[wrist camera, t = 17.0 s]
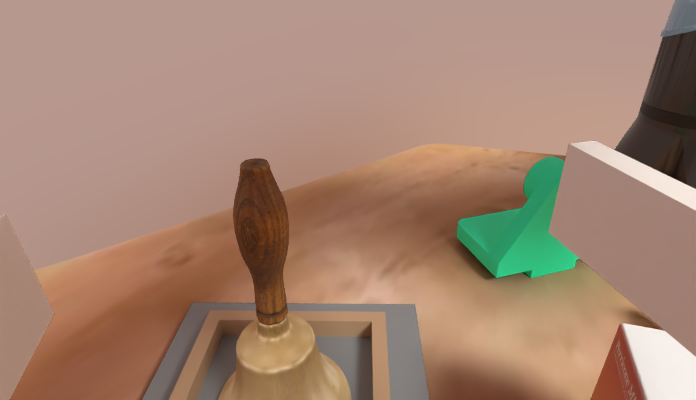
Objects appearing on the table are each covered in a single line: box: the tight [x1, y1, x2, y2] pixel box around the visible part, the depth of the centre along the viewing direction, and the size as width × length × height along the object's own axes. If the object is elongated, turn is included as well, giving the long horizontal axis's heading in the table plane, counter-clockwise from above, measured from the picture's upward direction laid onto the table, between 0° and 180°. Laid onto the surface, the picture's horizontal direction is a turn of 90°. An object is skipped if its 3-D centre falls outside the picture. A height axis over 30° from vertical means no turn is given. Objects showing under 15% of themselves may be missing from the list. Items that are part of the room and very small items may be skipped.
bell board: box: [142, 303, 429, 400], centre depth 27 cm, size 18×18×2 cm
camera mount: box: [457, 157, 579, 278], centre depth 40 cm, size 12×8×10 cm, turn 107°
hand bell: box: [218, 159, 351, 400], centre depth 23 cm, size 8×8×16 cm
